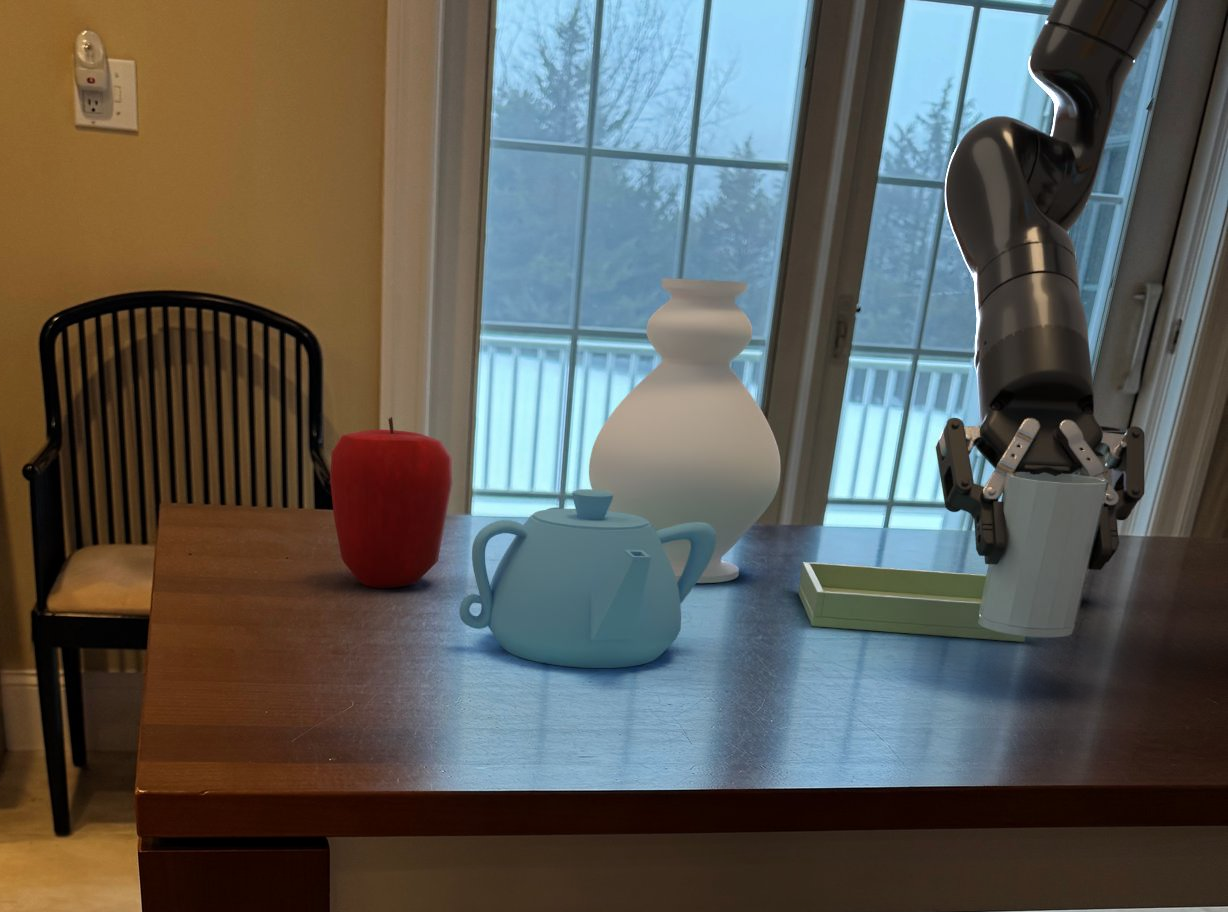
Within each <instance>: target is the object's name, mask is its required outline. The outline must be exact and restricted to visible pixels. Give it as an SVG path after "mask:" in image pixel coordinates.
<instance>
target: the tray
mask: <svg viewBox="0 0 1228 912" xmlns="http://www.w3.org/2000/svg"><path fill="white" fill-rule="evenodd" d="M986 575H987V574H981V573H980V574H978V573H966V572H951V571H939V570H938V571H936V570H925V569H924V570H922V569H909V568H894V567H881V566H867V565H854V564H841V563H840V564H838V563H826V562H809V561H803V562H802V564H801V571H800V576H799V584H798V591H797V594H798V596H799V599H800V601H801V603H802V606H803V608H804V610H805V613H806V614H807V617H808V620H809V621H810V624H811V626H812V627H818V628H819V627H820V628H821V627H822V628H832V629H833V628H834V629H847V630H858V631H859V630H860V631H870V632H871V631H872V632H883V633H884V632H886V633H899V634H912V635H926V636H939V637H941V636H942V637H952V638H966V639H977V640H979V639H980V640H992V641H1005V642H1017V643H1018V642H1019V643H1024V642H1025V641H1026V638H1027V637H1026V636H1018V635H1011V634H1005V633H1001V632H997V631H993V630H990V629H987V628H984V627H982V626H981V625H979V623H978V619H979V610H980V605H981V600H982V595H983V590H984V585H985V580H986Z"/></svg>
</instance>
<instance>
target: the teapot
mask: <svg viewBox="0 0 1228 912" xmlns="http://www.w3.org/2000/svg"><path fill="white" fill-rule="evenodd" d="M612 498H613V494H612V493H610V492H607V491H602V490H593V489H592V488H590V489H588V488H582V489H580V488H579V489H576V490H574V491H572V500H573V504H574V508H563V507H559V506H558V507H549V508H546V509H542V510H537V511H535V512H534V513H533V514H531V515H530V516H529V517H528V518H527V520H526V521H525V522H524V524H523V523H520V522H518V521H515V520H512V519H500V520H496V521H493V522H490V523H489V524H487V525H485V526H484V527H482V528H481V529H480V530H479V531H478V533H477V534H476V536H475V538H474V539H473V543H472V546H471V547H472V549H471V563H472V567H473V574H474V579H475V583H476V587H477V590H478V594H475V593H471V594H467V595H466V596H465V597H463V599H462V601H461V603H460V606H459V616H460V620H461V621H462V623H463V624H465V625H466V626H468V627H470V628H472V629H476V630H481V629H484V628H486V627H488V629H489V630H490V632H491V633H492V635H493V636H494V637H495V639H496V640H497V641H498V643H500V645H501V646H502V648H503V649H504V650H505V651H506V652H507V653H510V654H511V655H513V656H515V657H518V658H522V659H525V660H529V661H532V662H536V663H542V664H547V665H553V666H559V667H567V668H568V667H569V668H581V669H583V668H584V669H585V668H586V669H616V668H617V669H618V668H630V667H636V666H641V665H646V664H648V663H652V662H654V661H655V660H657V659H658V658H659V657H660V656H661V655H662V654H663V653H664V652H666V650H668V648H670V646H671V645H673V643H674V642H675V641H676V639H677V638H678V636H679V634H680V632H681V626H682V608H681V607H682V603H683V602H684V600H685V599H686V598H687V597H688V595H689V594H690V592H691V591H692V590H693V588H694V587H695V585H696V584H697V583H696V582H697V581H698V579H699V578H700V576H701V575H702V573H703V572H704V570H705V569H706V567H707V565H708V563H709V561H710V559H711V557H712V555H713V552H714V549H715V545H716V539H717V535H716V531H715V529H714V528H713V527H712V526H711V525H709V524H707V523H702V522H692V523H685V524H680V525H675V526H671V527H667V528H664V529H660V530H657V531H655V530H654V528H653V526H652V525H651V523H650V522H649V521H648V520H647V519H645V518H643V517H640V516H636V515H632V514H627V513H621V512H614V511H608V508H609V506H610V504H611V501H612ZM503 534H510V535H514V536H515V537H514V538H513V539H512V541H511V543H510V544H509V546H508V547H507V549H506V551H505V552H504V554H503V556H502V557H501V560H500V561H499V563H498V565H497V567H496V569H495V572H494V574H493V576H492V579H491V582H490V581H489V576H488V571H487V565H486V548H487V546H488V542H489V541H490V540H491V539H492V538H494V537H495V536H498V535H503ZM680 539H687V540H689V541H690V543H691V549H690V554H689V557H688V560H687V563H686V565H685V568H684V570H683V573H682V574H681V576H680V578H679V580H678V582H677V581H676V577H675V574H674V571H673V569H672V566H671V563H670V561H669V559H668V556H667V554H666V552H665V550H664V548H663V545H662V543H666V542H670V541H674V540H680ZM473 604H479V605H480V606H481V608H480V613H479V614H478V615H473V614H472V613H471V611H470V609H471V607H472V605H473Z"/></svg>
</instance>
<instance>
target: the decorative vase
mask: <svg viewBox="0 0 1228 912" xmlns="http://www.w3.org/2000/svg"><path fill="white" fill-rule="evenodd" d="M661 289H663V290H665V291H666V292H668V293H669V294H670V299H669V300H668V301H666V302H664V304H662V305H661V306H659V308H658V309H656V310H655V311H654V312H653V314H652V315H651V316H650V317H649V319H648V320H647V321H648V322H647V324H646V330H645V331H646V337H647V339H648V341H649V343H650V345H651V346H652V347H653V349H654V351H655V352H656V353H657V354H658V355H659V356H660V357H661V362H660V363H659V364H658V365H656V367H655V368H654V369H652V370H651V372H649V373H648V374H647V375H646V376H645V377H644V378H643V379H642V380H641V381H640V382H639V383H638V384H636V386H635V387H634V388H632V390H630V392H629V393H628V394H626V396H625V397H624V398H623V399H622V400H621V402H619V404H618V405H617V406H616V408H615V409H614V410H613V411H612V412H611V414H610V415H609V417H608V418H607V420H606V421H605V422H604V424H603V425H602V427H601V429H600V430H599V432H598V434H597V436H596V438H595V440H594V443H593V446H592V449H591V453H590V457H589V464H588V478H589V479H588V480H589V484H590V489H593V490H602V491H607V492H610V493H612V494H613V498H612V501H611V504H610V506H609V508H608V511H614V512H621V513H627V514H632V515H636V516H640V517H643V518H645V519H647V520H648V521H649V522H650V523H651V525H652V526H653V528H654V530H655V531H657V530H660V529H664V528H667V527H671V526H675V525H680V524H685V523H692V522H702V523H707V524H709V525H711V526H712V527H713V528H714V529H715V531H716V535H717V539H716V545H715V549H714V552H713V555H712V557H711V559H710V561H709V563H708V565H707V567H706V569H705V570H704V572H703V573H702V575H701V576H700V578H699V579H698V581H697V582H696V584H712V583H713V584H714V583H723V582H729V581H732V580H735V579H737V578H738V577H739V573H740V568H739V567H738V566H737V565H736V564H734V563H732V562H729V561H726V560H723V559H722V558H723V557H724V556H725V555H726V554H727V553H728V552H729V551H730V550H731V549H732V548H733V547H734V546H735V545H736V544H737V543H738V542H739V541H740V540H741V538H743V536H744V535H745V534H746V533H748V531H749V530H750V529H751V528H752V527H753V526H754V525H755V524H756V523H757V521H758V520H759V519H760V518H761V517H762V515H763V514H765V512H766V511H767V509H768V508H769V507H770V505H771V504H772V502H773V500H774V499H775V497H776V495H777V492H778V489H779V485H780V480H781V456H780V450H779V446H778V444H777V440H776V438H775V435H774V432H773V431H772V428H771V426H770V423H769V422H768V419H767V417H766V416H765V414H764V412H763V411H762V409H761V407H760V406H759V404H758V403H757V402H756V400H755V398H754V397H753V396H752V394H751V392H750V391H749V390H748V388H747V387H746V385H745V384H744V383H743V382H742V380H741V379H740V377H739V376H738V375H737V374H736V373H735V371H734V370H733V368H732V367H731V362H732V361H733V360H735V359H736V358H737V357H738V356H739V355H740V354H742V353H743V351H745V349H746V348H747V347H748V346H749V345H750V343H751V341H752V337H753V326H752V323H751V321H750V318H749V317H748V316H747V314H746V313H745V312H744V311H743V309H741V308H740V307H739V306H738V305H737V304H736V303H735V301H736V298H737V297H739V296H741V295H743V294H745V293H747V289H748V282H745V281H743V282H742V281H729V280H728V281H727V280H711V279H710V280H709V279H691V278H673V277H672V278H670V277H669V278H668V277H662V278H661ZM662 545H663V548H664V550H665V552H666V554H667V556H668V559H669V561H670V563H671V566H672V569H673V571H674V574H675V577H676V581H677V582H678V580H679V578H680V576H681V574H682V573H683V570H684V568H685V565H686V563H687V560H688V557H689V554H690V549H691V543H690V541H689V540H687V539H680V540H674V541H670V542H666V543H662Z"/></svg>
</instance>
